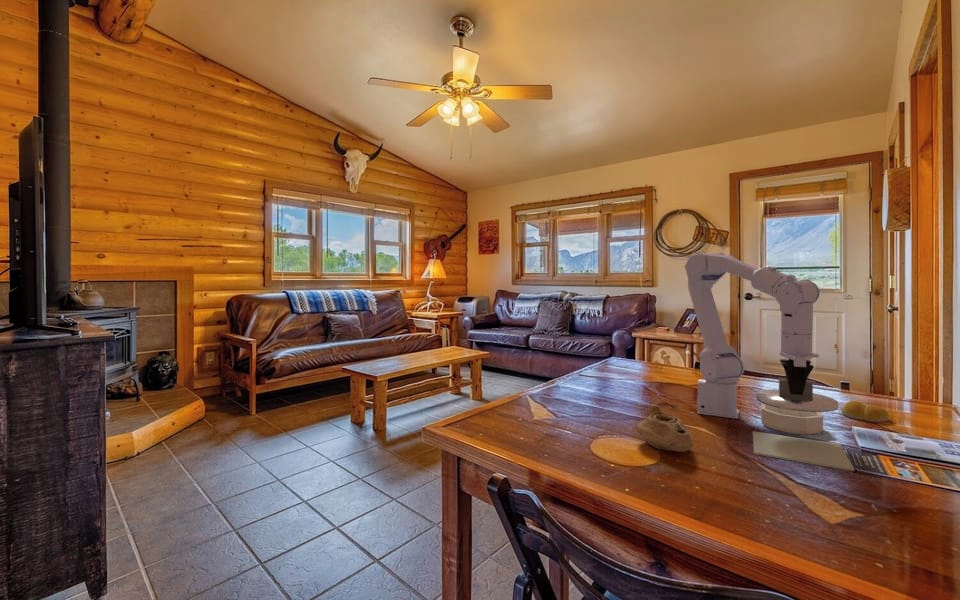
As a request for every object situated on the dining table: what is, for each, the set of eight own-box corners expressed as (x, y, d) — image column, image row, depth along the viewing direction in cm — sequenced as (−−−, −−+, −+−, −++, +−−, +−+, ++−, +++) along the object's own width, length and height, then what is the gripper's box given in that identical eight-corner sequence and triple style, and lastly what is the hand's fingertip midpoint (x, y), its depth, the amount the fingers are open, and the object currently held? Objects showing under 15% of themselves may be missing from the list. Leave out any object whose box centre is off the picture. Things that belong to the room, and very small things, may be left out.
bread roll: (886, 425, 105) (887, 409, 104) (839, 417, 111) (839, 402, 111) (890, 418, 110) (891, 403, 110) (845, 410, 117) (846, 396, 117)
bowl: (762, 429, 103) (762, 412, 103) (760, 415, 113) (760, 400, 113) (825, 438, 97) (825, 420, 97) (817, 422, 107) (817, 406, 107)
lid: (757, 406, 94) (757, 384, 94) (754, 391, 107) (754, 371, 107) (845, 415, 87) (845, 391, 86) (831, 397, 99) (831, 376, 99)
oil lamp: (671, 465, 84) (671, 426, 84) (625, 438, 99) (625, 404, 98) (715, 458, 87) (715, 420, 87) (664, 433, 102) (664, 400, 101)
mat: (753, 454, 89) (753, 452, 89) (752, 432, 101) (752, 431, 101) (854, 471, 81) (854, 469, 81) (840, 445, 92) (840, 444, 92)
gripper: (824, 338, 88) (823, 403, 88) (813, 330, 100) (812, 387, 101) (782, 336, 91) (782, 398, 92) (777, 329, 104) (776, 384, 104)
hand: (795, 392), depth 97 cm, fingers closed on lid, 2 cm apart
